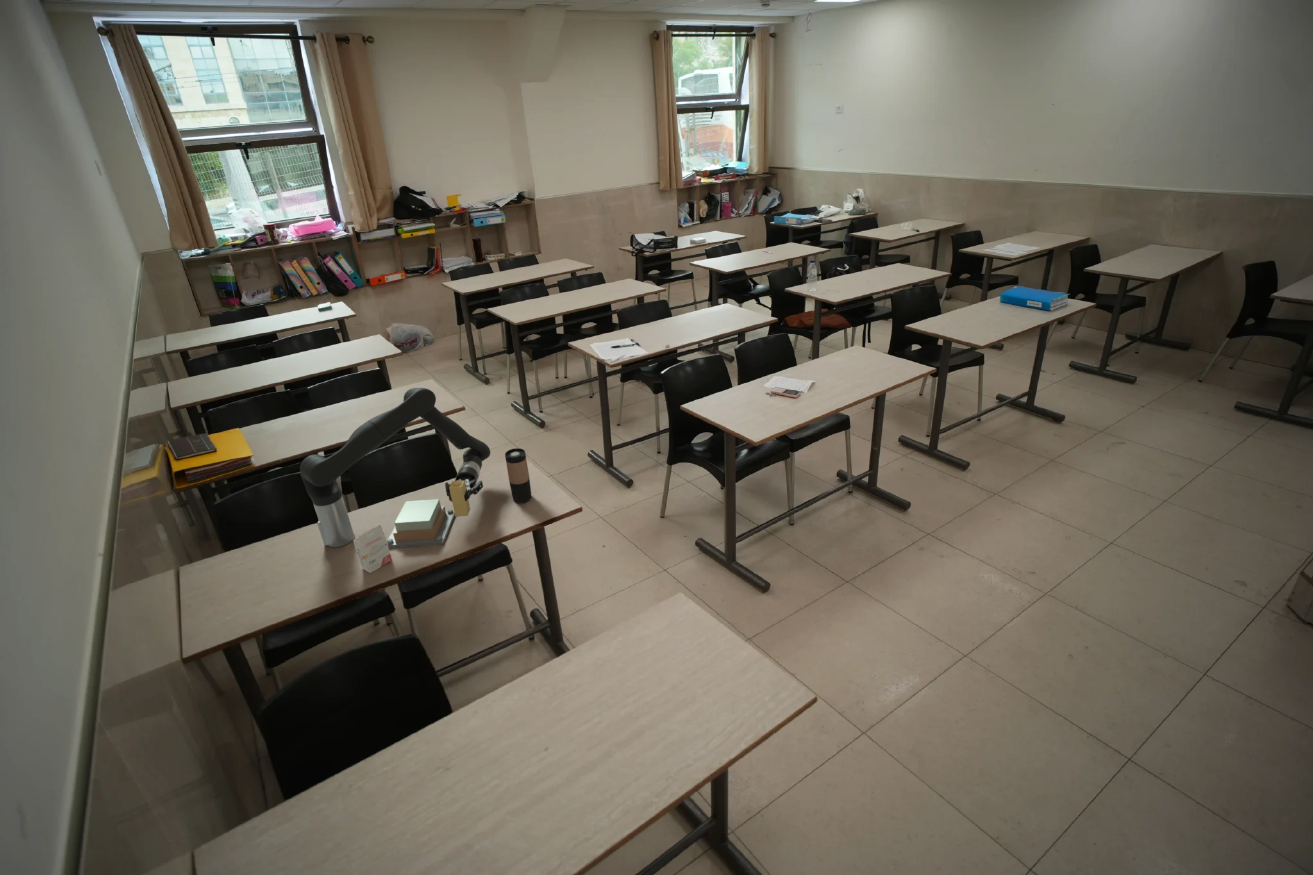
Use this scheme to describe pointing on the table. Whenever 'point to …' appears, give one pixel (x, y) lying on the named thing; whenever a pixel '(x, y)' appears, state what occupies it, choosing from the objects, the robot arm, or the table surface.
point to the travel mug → (518, 475)
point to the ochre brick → (459, 498)
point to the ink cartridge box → (372, 549)
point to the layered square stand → (421, 524)
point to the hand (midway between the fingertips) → (458, 498)
